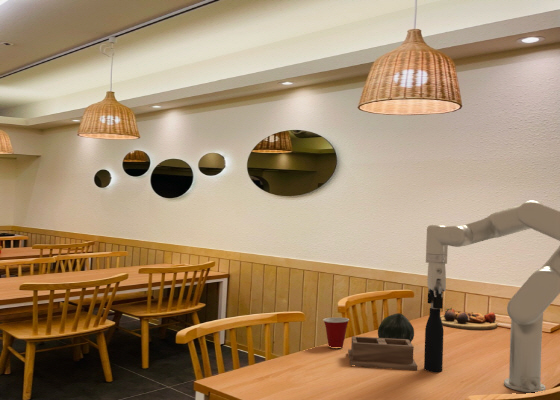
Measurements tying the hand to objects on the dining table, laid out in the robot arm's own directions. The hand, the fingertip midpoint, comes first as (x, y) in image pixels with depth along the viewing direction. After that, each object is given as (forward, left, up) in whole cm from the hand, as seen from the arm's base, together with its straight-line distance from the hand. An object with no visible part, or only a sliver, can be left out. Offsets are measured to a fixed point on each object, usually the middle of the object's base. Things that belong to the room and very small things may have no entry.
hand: (434, 305), depth 193 cm
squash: (+33, +9, -23) cm, 41 cm away
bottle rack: (+7, +18, -23) cm, 30 cm away
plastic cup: (+24, +35, -23) cm, 48 cm away
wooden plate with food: (+90, -35, -24) cm, 99 cm away
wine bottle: (0, 0, -23) cm, 23 cm away
